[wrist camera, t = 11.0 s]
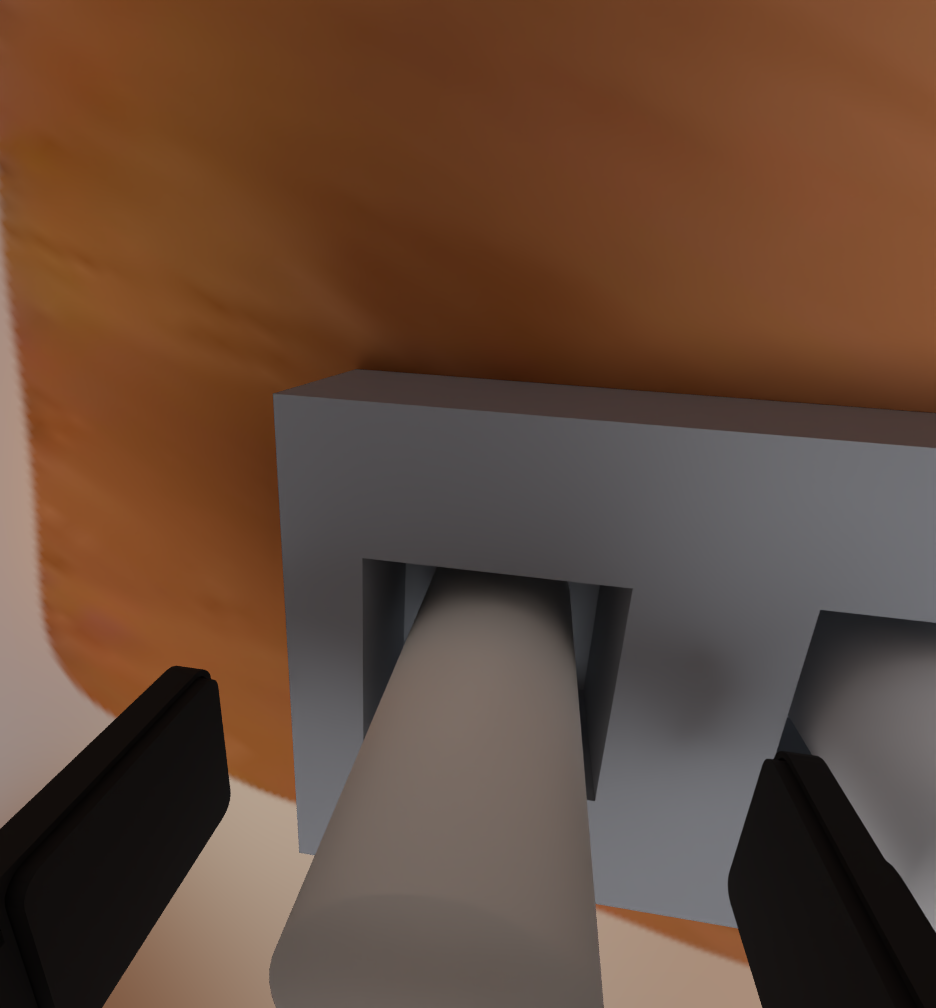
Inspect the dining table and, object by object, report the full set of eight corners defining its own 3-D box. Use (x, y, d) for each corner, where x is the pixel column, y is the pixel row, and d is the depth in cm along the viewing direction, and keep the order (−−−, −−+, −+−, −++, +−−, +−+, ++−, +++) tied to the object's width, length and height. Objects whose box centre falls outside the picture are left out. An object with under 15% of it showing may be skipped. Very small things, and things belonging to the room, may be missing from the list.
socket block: (356, 369, 15) (174, 422, 8) (1076, 423, 13) (1753, 565, 6) (359, 721, 19) (240, 981, 12) (914, 801, 17) (1193, 1172, 10)
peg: (433, 526, 15) (257, 865, 6) (579, 542, 15) (633, 931, 6) (428, 648, 17) (278, 1080, 7) (561, 666, 16) (580, 1146, 7)
